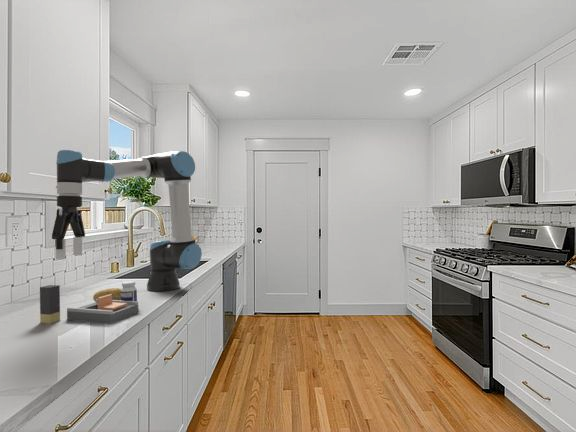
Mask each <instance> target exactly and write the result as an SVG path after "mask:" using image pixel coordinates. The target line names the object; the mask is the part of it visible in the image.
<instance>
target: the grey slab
mask: <svg viewBox="0 0 576 432" xmlns="http://www.w3.org/2000/svg"><path fill="white" fill-rule="evenodd" d="M112 302H116V303H127V306H124V307H121V308H119V309H116V310H100V309H98V305H97V299H96V302H95V301H94V302H93V303H89V304H86V305H82V306H79V307H66V318H67V319H66V320H67V321H76V322H77V321H79V322H90V323H91V322H92V323H101V324H102V323H103V324H113V323H116V322H117V321H120V320H123V319H126V318H128V317H130V316H133V315H135V314H138V313H139V301H138V300H137V301H121V300H112Z"/></svg>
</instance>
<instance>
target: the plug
mask: <svg viewBox="0 0 576 432" xmlns="http://www.w3.org/2000/svg"><path fill="white" fill-rule="evenodd" d="M60 286H61V285H59V284H56V285H55V284H49V285H45V286H44V285H43V286H40V287H39V309H40V310H39V311H40V312H39V313H40V314H39V316H40V318H39V320H40V321H39V322H40V324H49V325H50V324H53V323H56V322H60V321H61V299H60V298H61V296H60V295H61V294H60V292H61V291H60Z"/></svg>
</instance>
